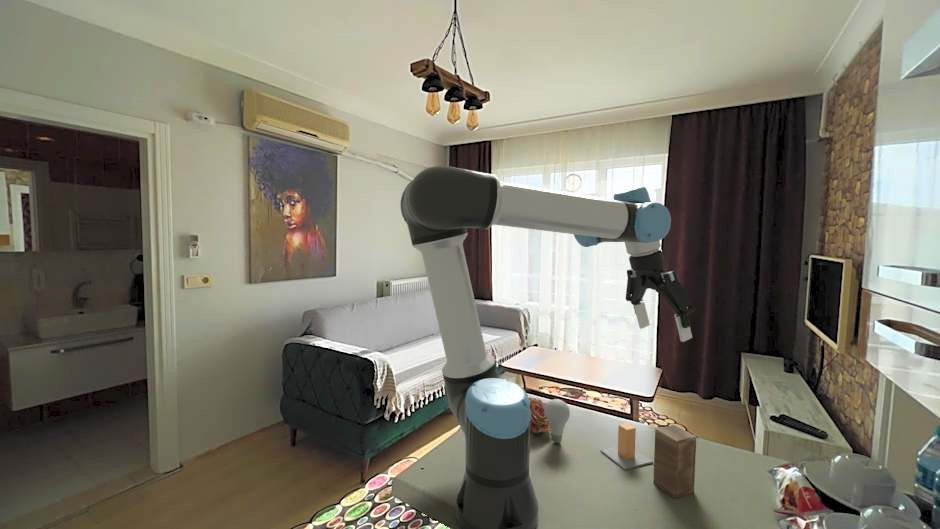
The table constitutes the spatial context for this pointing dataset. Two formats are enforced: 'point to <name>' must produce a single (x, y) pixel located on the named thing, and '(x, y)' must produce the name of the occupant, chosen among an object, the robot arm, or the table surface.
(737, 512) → the table surface
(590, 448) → the table surface
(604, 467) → the table surface
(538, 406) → the flower
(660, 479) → the brown wooden block
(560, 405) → the lightbulb
